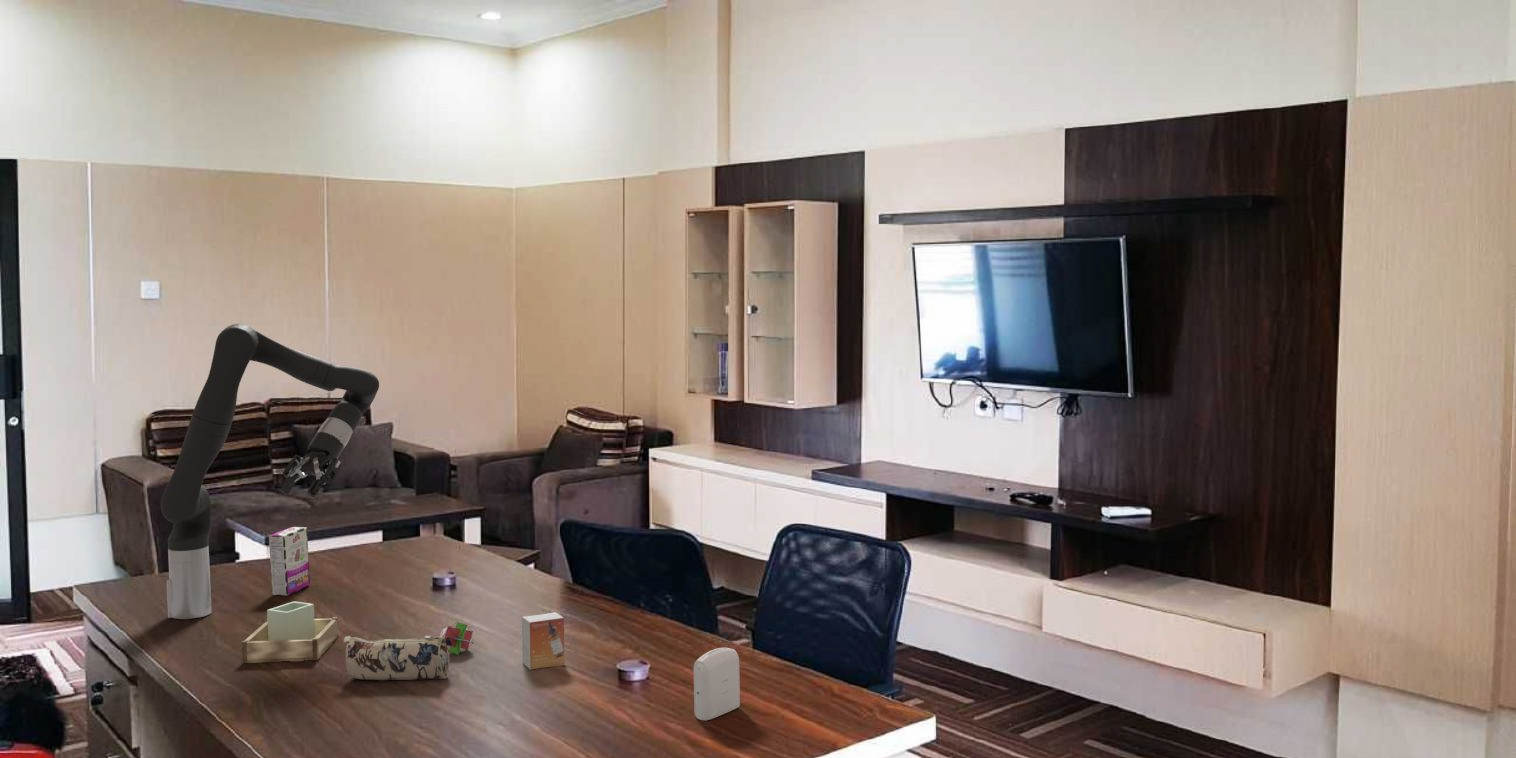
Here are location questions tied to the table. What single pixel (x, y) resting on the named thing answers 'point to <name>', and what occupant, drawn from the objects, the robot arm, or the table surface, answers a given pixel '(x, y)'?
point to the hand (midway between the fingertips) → (297, 493)
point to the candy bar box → (289, 561)
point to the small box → (543, 640)
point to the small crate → (291, 622)
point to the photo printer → (716, 683)
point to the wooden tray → (289, 644)
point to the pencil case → (398, 658)
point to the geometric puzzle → (458, 637)
